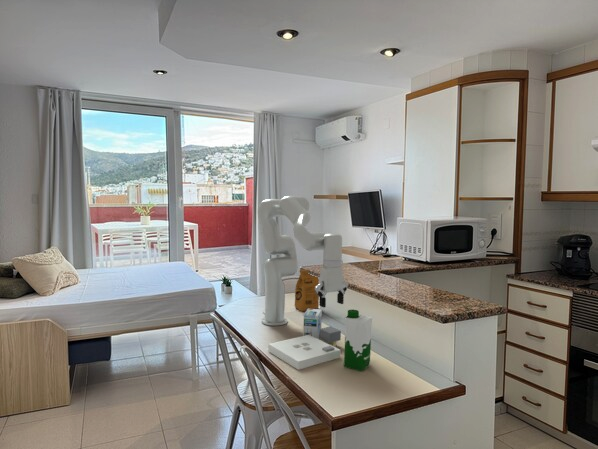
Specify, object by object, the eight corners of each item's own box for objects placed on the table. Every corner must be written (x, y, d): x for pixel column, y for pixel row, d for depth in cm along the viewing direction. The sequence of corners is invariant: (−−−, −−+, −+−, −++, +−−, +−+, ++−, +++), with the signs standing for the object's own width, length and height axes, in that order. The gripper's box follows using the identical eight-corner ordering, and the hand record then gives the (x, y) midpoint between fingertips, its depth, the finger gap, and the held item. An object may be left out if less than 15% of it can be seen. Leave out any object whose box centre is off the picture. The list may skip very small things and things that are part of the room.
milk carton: (350, 358, 149) (352, 307, 148) (373, 364, 145) (375, 311, 143) (340, 367, 142) (342, 312, 141) (363, 373, 137) (365, 317, 136)
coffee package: (292, 307, 219) (293, 268, 217) (311, 305, 225) (312, 267, 223) (301, 312, 210) (302, 271, 209) (320, 309, 216) (321, 269, 215)
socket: (268, 351, 155) (268, 341, 155) (308, 341, 167) (308, 332, 166) (298, 369, 139) (298, 359, 138) (340, 357, 151) (340, 347, 150)
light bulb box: (318, 340, 168) (318, 315, 168) (302, 339, 170) (303, 314, 169) (321, 332, 179) (322, 309, 178) (307, 331, 180) (307, 307, 179)
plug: (319, 344, 164) (319, 328, 164) (330, 341, 167) (330, 326, 167) (329, 349, 159) (329, 333, 158) (340, 346, 162) (340, 330, 162)
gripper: (341, 261, 169) (341, 300, 170) (310, 264, 159) (309, 306, 160) (354, 263, 163) (353, 304, 164) (321, 266, 153) (321, 310, 154)
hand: (331, 305), depth 162 cm, fingers open, 9 cm apart
